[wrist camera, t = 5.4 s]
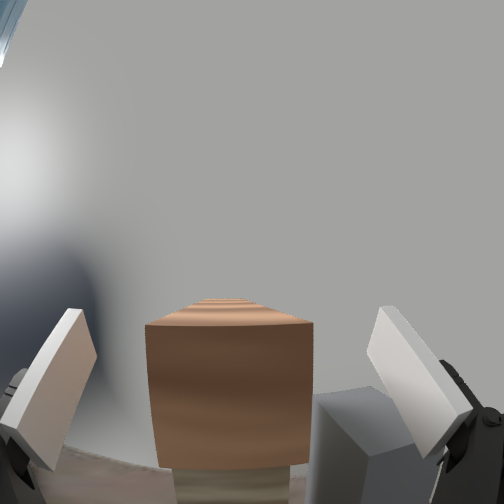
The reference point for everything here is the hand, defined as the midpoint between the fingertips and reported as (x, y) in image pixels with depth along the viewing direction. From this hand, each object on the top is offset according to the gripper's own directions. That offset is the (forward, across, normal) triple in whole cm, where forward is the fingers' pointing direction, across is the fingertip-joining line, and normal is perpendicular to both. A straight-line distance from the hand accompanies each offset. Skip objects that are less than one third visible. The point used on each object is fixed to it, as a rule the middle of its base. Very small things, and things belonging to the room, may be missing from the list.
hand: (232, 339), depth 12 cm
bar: (+5, 0, -6) cm, 8 cm away
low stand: (-5, +14, -35) cm, 38 cm away
